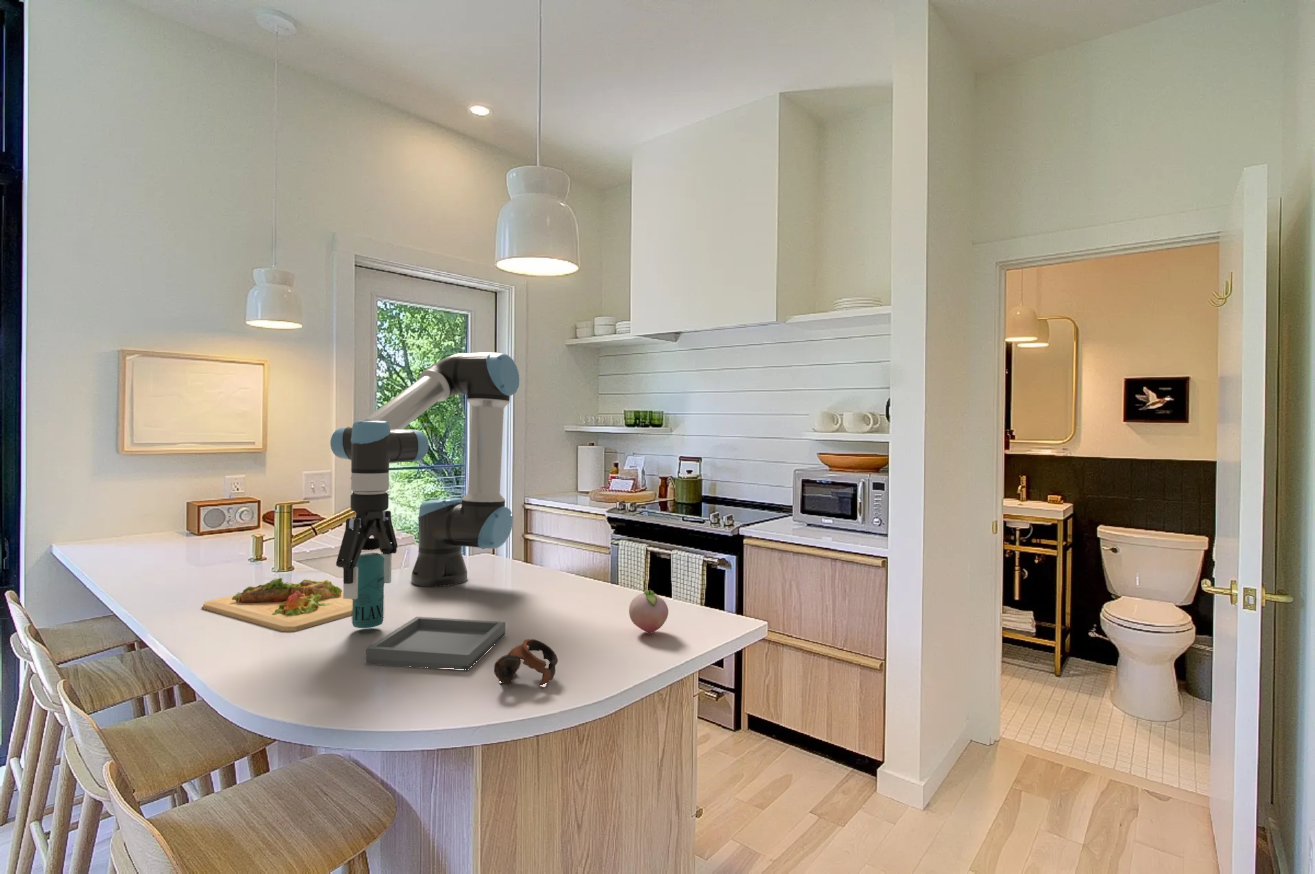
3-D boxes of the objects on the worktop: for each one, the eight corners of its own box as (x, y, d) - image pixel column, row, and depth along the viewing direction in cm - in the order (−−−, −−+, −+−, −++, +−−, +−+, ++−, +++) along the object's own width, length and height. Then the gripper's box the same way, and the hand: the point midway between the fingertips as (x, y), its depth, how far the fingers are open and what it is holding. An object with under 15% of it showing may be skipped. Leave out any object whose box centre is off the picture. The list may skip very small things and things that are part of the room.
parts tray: (416, 630, 142) (416, 616, 142) (504, 635, 140) (505, 621, 140) (365, 664, 122) (365, 648, 122) (467, 671, 120) (468, 655, 120)
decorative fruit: (623, 628, 147) (624, 584, 147) (657, 625, 150) (658, 582, 149) (635, 642, 138) (637, 595, 138) (672, 639, 141) (673, 593, 141)
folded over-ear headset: (518, 669, 123) (541, 633, 123) (548, 704, 118) (572, 667, 117) (472, 673, 113) (496, 633, 113) (502, 711, 108) (528, 670, 107)
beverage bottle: (348, 636, 137) (349, 541, 137) (354, 626, 144) (355, 536, 143) (381, 634, 139) (383, 541, 139) (386, 624, 146) (387, 535, 145)
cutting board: (382, 608, 159) (382, 578, 159) (289, 636, 139) (289, 600, 138) (292, 588, 176) (293, 560, 175) (198, 610, 155) (198, 578, 155)
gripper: (383, 485, 153) (382, 575, 154) (317, 497, 129) (316, 605, 129) (414, 487, 153) (412, 577, 153) (353, 499, 128) (351, 607, 128)
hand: (368, 590), depth 141 cm, fingers open, 13 cm apart
